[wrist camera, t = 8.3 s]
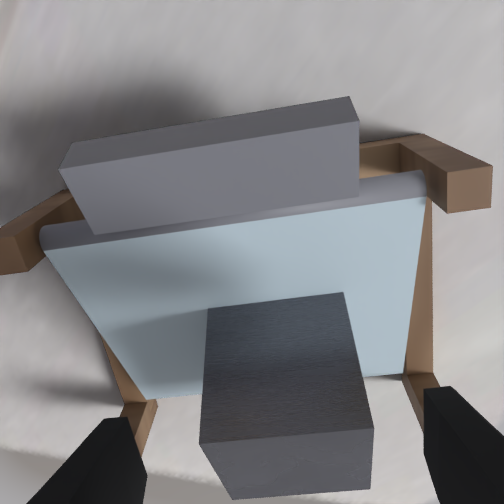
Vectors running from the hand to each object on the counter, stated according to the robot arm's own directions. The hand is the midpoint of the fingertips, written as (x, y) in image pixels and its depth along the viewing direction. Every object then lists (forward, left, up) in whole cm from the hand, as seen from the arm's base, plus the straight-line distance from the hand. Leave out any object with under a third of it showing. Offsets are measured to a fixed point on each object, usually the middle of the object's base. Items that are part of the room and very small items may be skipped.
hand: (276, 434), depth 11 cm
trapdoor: (-1, +1, -7) cm, 7 cm away
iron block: (0, -2, -7) cm, 7 cm away
